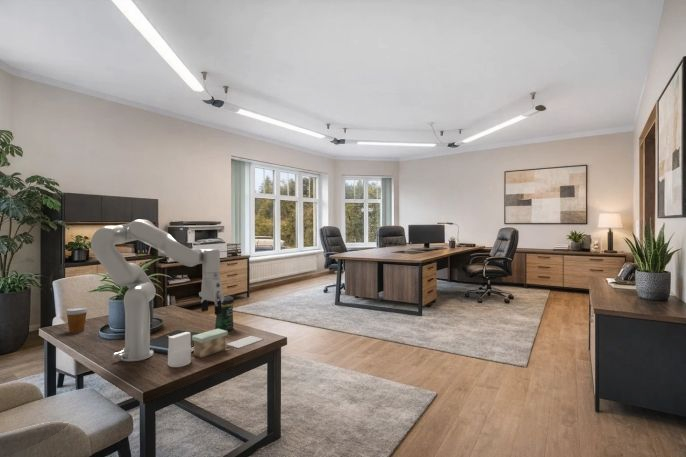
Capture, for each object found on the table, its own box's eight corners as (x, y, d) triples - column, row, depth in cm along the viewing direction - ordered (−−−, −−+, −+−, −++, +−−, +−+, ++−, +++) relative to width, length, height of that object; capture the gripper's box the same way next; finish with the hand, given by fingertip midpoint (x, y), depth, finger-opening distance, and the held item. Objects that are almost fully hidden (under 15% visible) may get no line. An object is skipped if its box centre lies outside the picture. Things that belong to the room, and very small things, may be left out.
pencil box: (200, 357, 158) (200, 342, 158) (194, 355, 161) (194, 339, 161) (225, 349, 169) (225, 334, 169) (218, 347, 171) (218, 332, 171)
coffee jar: (223, 333, 193) (223, 299, 193) (212, 330, 196) (213, 297, 196) (236, 328, 202) (236, 295, 201) (225, 326, 205) (226, 294, 205)
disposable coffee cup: (70, 329, 195) (70, 307, 195) (90, 327, 198) (90, 306, 197) (62, 334, 186) (62, 311, 185) (83, 332, 188) (83, 310, 188)
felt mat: (238, 348, 170) (238, 347, 170) (226, 344, 175) (226, 343, 175) (263, 339, 183) (263, 339, 183) (251, 336, 188) (251, 335, 188)
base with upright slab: (176, 368, 146) (177, 339, 146) (163, 364, 150) (163, 335, 150) (195, 361, 154) (195, 333, 154) (181, 357, 158) (182, 330, 158)
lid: (201, 343, 157) (201, 338, 157) (191, 339, 161) (191, 335, 161) (227, 334, 168) (227, 331, 168) (218, 332, 172) (218, 328, 172)
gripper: (230, 276, 162) (230, 313, 163) (206, 273, 172) (206, 308, 172) (216, 278, 156) (216, 317, 156) (192, 275, 166) (192, 311, 166)
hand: (211, 312), depth 164 cm, fingers open, 9 cm apart
